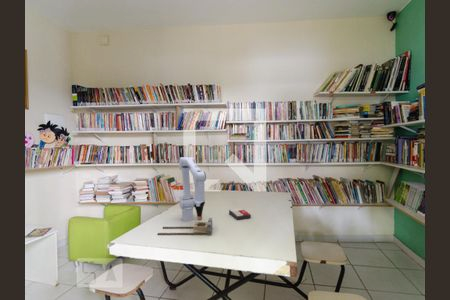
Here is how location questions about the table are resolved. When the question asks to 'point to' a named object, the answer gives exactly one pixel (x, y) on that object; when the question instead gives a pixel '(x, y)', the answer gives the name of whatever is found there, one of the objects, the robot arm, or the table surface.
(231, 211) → the hard drive
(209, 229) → the rail board
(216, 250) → the table surface
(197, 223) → the wooden square frame
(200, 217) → the dowel
